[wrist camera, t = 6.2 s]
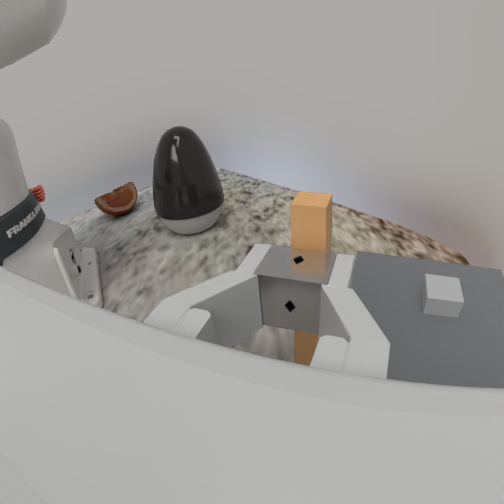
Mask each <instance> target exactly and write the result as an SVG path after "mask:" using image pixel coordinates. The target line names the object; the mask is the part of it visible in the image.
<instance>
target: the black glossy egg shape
mask: <svg viewBox="0 0 504 504" xmlns="http://www.w3.org/2000/svg"><path fill="white" fill-rule="evenodd" d="M153 200H154V208H155V212H156V214H157V216H158V217H160V219H161V221H162V223H163V224H164V225H165V226H166V227H167V228H168V229H169V230H171V231H173V232H175V233H179V234H196V233H199V232H202V231H204V230H206V229H208V228H210V227H211V226H212V225H213V224H214V223H215V222H216V221H217V220H218V218H219V216H220V214H221V210H222V204H223V202H224V194H223V189H222V186H221V182H220V179H219V176H218V173H217V171H216V168H215V166H214V164H213V161H212V159H211V157H210V155H209V153H208V150H207V149H206V147H205V145H204V143H203V142H202V140H201V139H200V138H199V137H198V135H197V134H196V133H195V132H194V131H193V130H191V129H189V128H187V127H183V126H176V127H173V128H171V129H168V130H167V131H166V132H165V133H164V134H163V135H162V136H161V138H160V141H159V143H158V146H157V149H156V153H155V158H154V167H153Z"/></svg>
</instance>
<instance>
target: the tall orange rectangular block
mask: <svg viewBox="0 0 504 504" xmlns="http://www.w3.org/2000/svg"><path fill="white" fill-rule="evenodd" d="M291 224H292V248H297V249H304V250H310V251H320V252H330V253H331V233H332V194H326V193H313V192H299V193H298V194H297V196H296V197H295V199H294V200H293V202H292V203H291ZM318 336H319V335H314V334H309V333H304V332H300V331H295V330H294V338H295V363H298V364H303V365H308V366H310V364H311V361H312V358H313V356H314V353H315V350H316V347H317V344H318V341H319V337H318Z"/></svg>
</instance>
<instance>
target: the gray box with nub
mask: <svg viewBox="0 0 504 504" xmlns="http://www.w3.org/2000/svg"><path fill="white" fill-rule="evenodd" d="M352 289H353V290H354V291H355V293H356V294H357V296H358V297H359V298H360V300H361V301H362V303H363V304H364V306H365V307H366V309H367V310H368V312H369V313H370V314H371V316H372V317H373V319H374V320H375V322H376V323H377V325H378V326H379V328H380V329H381V331H382V332H383V334H384V335H385V337H386V338H387V340H388V341H389V343H390V351H389V360H388V369H387V377H386V379H391V380H399V381H407V382H416V383H426V384H437V385H450V386H463V387H481V388H504V277H503V275H502V273H501V270H496V269H489V268H482V267H475V266H468V265H460V264H453V263H446V262H438V261H431V260H423V259H415V258H408V257H400V256H392V255H384V254H376V253H368V252H360V251H357V256H356V261H355V266H354V274H353V283H352Z"/></svg>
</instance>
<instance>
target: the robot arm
mask: <svg viewBox="0 0 504 504" xmlns="http://www.w3.org/2000/svg"><path fill="white" fill-rule="evenodd" d="M66 6H67V0H0V69H1V68H3V67H6V66H9V65H11V64H13V63H15V62H16V61H18V60H20V59H22V58H24V57H25V56H27V55H29V54H31V53H32V52H34V51H36V50H38V49H40V48H41V47H43V46H45V45H47V44H49V43H50V41H51V40H52V39H53V37H54V36H55V34H56V33H57V31H58V29H59V28H60V25H61V23H62V21H63V18H64V15H65V11H66ZM44 196H45V193H44V190H43V187H42V188H41V185H39V186H37V187H35V188H33V189H28V187H27V184H26V181H25V177H24V174H23V170H22V167H21V163H20V159H19V156H18V151H17V147H16V143H15V139H14V135H13V132H12V130H11V129H10V127H9V125H8V124H7V123H6V122H5V121H4V120H2V119H0V504H504V388H481V387H463V386H450V385H437V384H426V383H416V382H407V381H399V380H391V379H386V377H387V369H388V360H389V351H390V343H389V341H388V340H387V338H386V337H385V335H384V334H383V332H382V331H381V329H380V328H379V326H378V325H377V323H376V322H375V320H374V319H373V317H372V316H371V314H370V313H369V312H368V310H367V309H366V307H365V306H364V304H363V303H362V301H361V300H360V298H359V297H358V296H357V294H356V293H355V291H354V290H353V289H352V283H353V274H354V265H355V255H352V254H340V253H338V254H337V253H330V252H320V251H310V250H304V249H297V248H291V247H284V246H276V245H270V244H261V243H258V244H255V245H254V247H253V248H252V249H251V251H250V252H249V253H248V255H247V256H246V257H245V259H244V260H243V261H242V263H241V264H240V265H239V267H238V268H237V269H236V271H228V272H226V273H224V274H221V275H219V276H217V277H214V278H212V279H209V280H207V281H205V282H202V283H200V284H198V285H195V286H193V287H190V288H188V289H186V290H183V291H181V292H178V293H176V294H174V295H171V296H169V297H167V298H164V299H163V300H162V301H161V302H160V303H159V304H158V305H157V306H156V308H155V309H154V310H153V311H152V312H151V313H150V314H149V315H148V317H147V318H146V319H145V320H144V321H143V322H140V321H137V320H134V319H131V318H129V317H126V316H123V315H120V314H117V313H114V312H111V311H109V310H106V309H103V308H102V306H103V301H102V293H101V284H100V275H99V264H98V254H97V252H96V250H95V248H92V247H80V248H79V246H78V244H77V241H76V239H75V236H74V234H73V232H72V230H71V228H70V227H68V226H66V225H63V224H60V223H57V222H54V221H52V220H49V219H47V218H45V213H44V212H43V210H42V208H41V205H40V203H39V202H43V201H44V200H45V197H44ZM263 325H267V326H273V327H278V328H284V329H290V330H295V331H300V332H304V333H309V334H314V335H319V336H318V337H319V341H318V344H317V347H316V350H315V353H314V356H313V358H312V361H311V364H310V366H308V365H303V364H298V363H293V362H288V361H284V360H279V359H275V358H270V357H266V356H261V355H257V354H253V353H249V352H245V351H241V350H237V349H233V348H232V347H233V346H235V345H236V344H238V343H239V342H241V341H242V340H244V339H245V338H247V337H248V336H250V335H251V334H252V333H254V332H255V331H257V330H258V329H260V328H261V327H263Z"/></svg>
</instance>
